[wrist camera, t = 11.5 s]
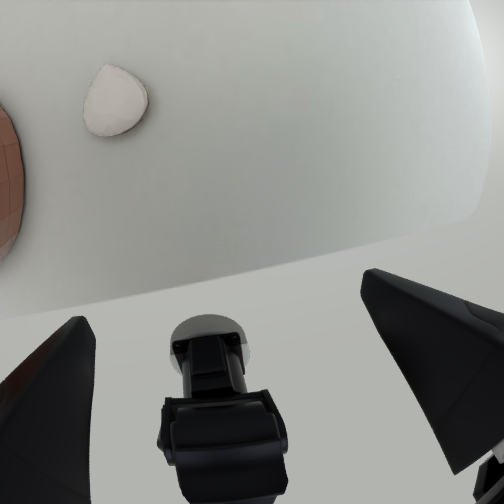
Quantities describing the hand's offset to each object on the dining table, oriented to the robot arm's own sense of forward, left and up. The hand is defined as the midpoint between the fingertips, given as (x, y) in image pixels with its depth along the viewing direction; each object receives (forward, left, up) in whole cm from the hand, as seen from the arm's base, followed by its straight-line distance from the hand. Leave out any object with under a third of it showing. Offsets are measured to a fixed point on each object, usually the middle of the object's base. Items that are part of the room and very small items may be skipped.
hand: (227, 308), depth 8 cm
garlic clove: (+8, +5, -12) cm, 15 cm away
